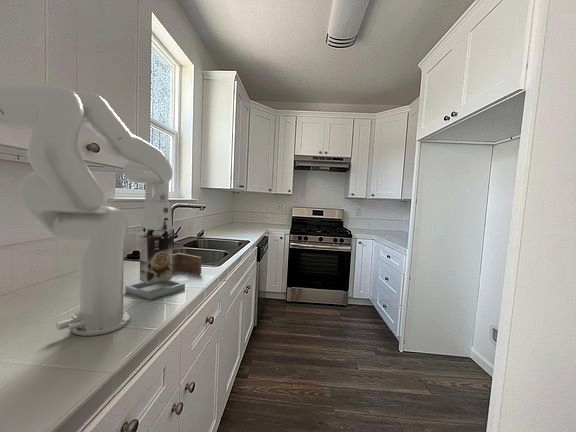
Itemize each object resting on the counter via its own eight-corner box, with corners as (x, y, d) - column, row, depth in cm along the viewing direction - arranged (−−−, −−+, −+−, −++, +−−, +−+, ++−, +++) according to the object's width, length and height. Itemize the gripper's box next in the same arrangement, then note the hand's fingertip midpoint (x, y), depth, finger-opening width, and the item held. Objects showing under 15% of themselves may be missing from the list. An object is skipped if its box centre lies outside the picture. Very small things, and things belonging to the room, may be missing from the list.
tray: (150, 301, 89) (150, 294, 89) (125, 292, 96) (125, 286, 96) (184, 289, 102) (184, 283, 101) (160, 282, 108) (160, 277, 108)
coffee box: (147, 284, 93) (148, 237, 92) (139, 280, 97) (139, 235, 96) (172, 278, 100) (173, 235, 99) (163, 275, 104) (164, 233, 103)
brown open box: (167, 284, 107) (168, 264, 106) (145, 278, 113) (145, 259, 113) (201, 274, 122) (201, 257, 121) (179, 269, 129) (179, 253, 128)
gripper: (182, 199, 96) (181, 249, 97) (151, 198, 104) (150, 243, 105) (163, 199, 89) (163, 252, 90) (131, 197, 97) (131, 246, 99)
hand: (156, 247), depth 98 cm, fingers closed on coffee box, 6 cm apart
